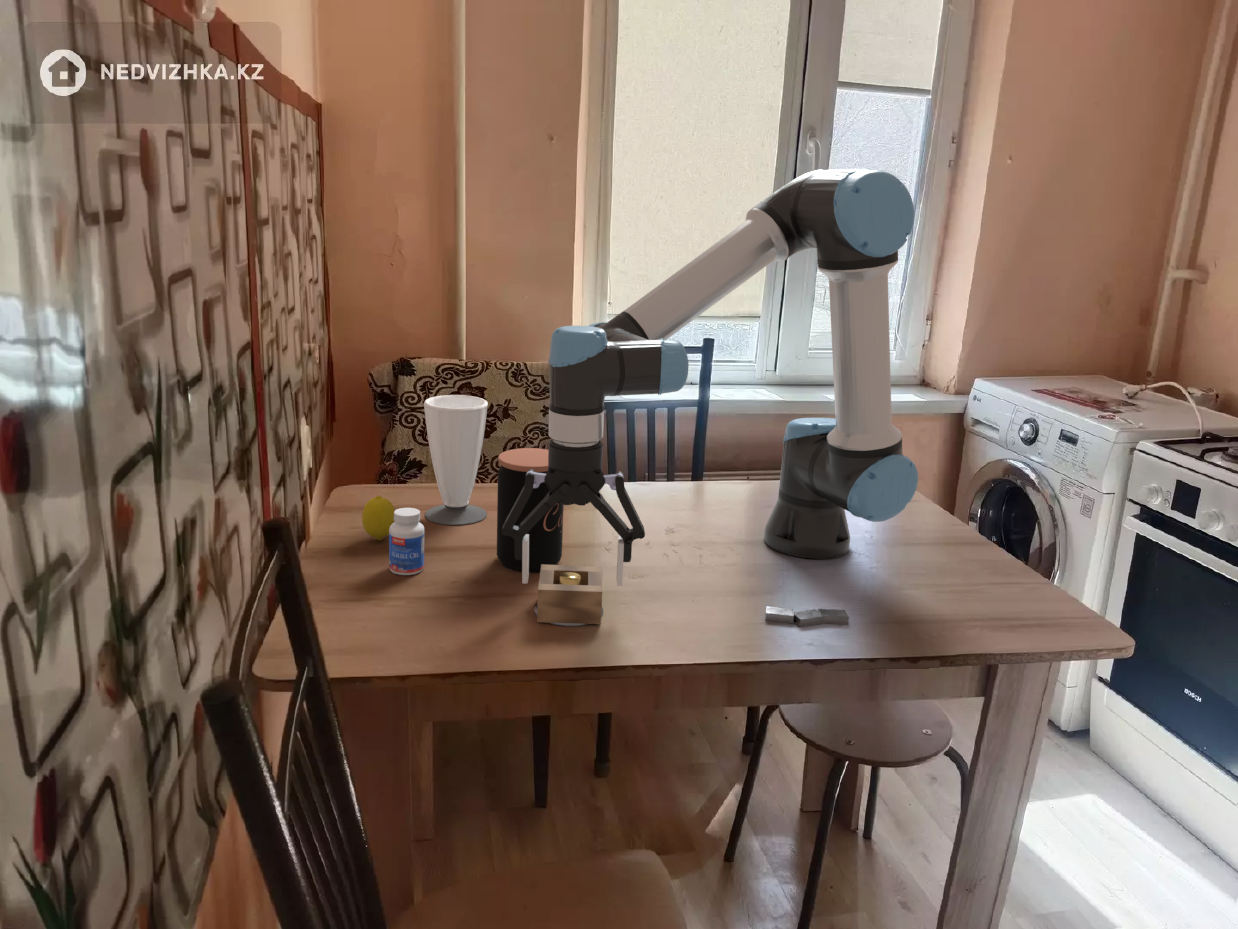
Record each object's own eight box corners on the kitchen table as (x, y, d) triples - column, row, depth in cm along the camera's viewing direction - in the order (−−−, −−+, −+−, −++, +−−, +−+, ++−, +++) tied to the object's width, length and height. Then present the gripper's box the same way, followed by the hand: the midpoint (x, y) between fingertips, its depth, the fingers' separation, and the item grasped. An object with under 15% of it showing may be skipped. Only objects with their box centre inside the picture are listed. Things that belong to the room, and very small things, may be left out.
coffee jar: (551, 578, 145) (555, 469, 140) (487, 569, 147) (488, 462, 142) (568, 554, 155) (572, 451, 150) (508, 546, 157) (510, 445, 152)
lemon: (356, 542, 155) (354, 497, 153) (376, 532, 160) (374, 488, 158) (383, 548, 153) (382, 503, 151) (402, 537, 158) (402, 494, 156)
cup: (481, 503, 177) (482, 394, 171) (492, 523, 167) (493, 408, 161) (421, 506, 174) (419, 395, 167) (428, 527, 163) (427, 409, 157)
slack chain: (843, 616, 137) (844, 608, 137) (850, 628, 133) (851, 621, 133) (762, 613, 136) (763, 605, 136) (767, 625, 132) (768, 618, 132)
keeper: (602, 597, 139) (604, 564, 137) (603, 627, 129) (605, 592, 128) (536, 595, 138) (537, 561, 137) (532, 625, 129) (533, 589, 127)
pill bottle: (387, 576, 142) (386, 517, 139) (390, 563, 147) (389, 505, 145) (423, 576, 143) (423, 517, 140) (425, 562, 148) (424, 505, 145)
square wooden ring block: (600, 597, 138) (601, 566, 137) (600, 624, 130) (602, 591, 128) (540, 595, 138) (541, 564, 136) (537, 622, 129) (538, 589, 128)
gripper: (663, 435, 130) (656, 572, 137) (488, 430, 130) (488, 568, 136) (667, 449, 123) (660, 593, 129) (482, 444, 122) (483, 589, 129)
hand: (572, 581), depth 133 cm, fingers open, 13 cm apart
